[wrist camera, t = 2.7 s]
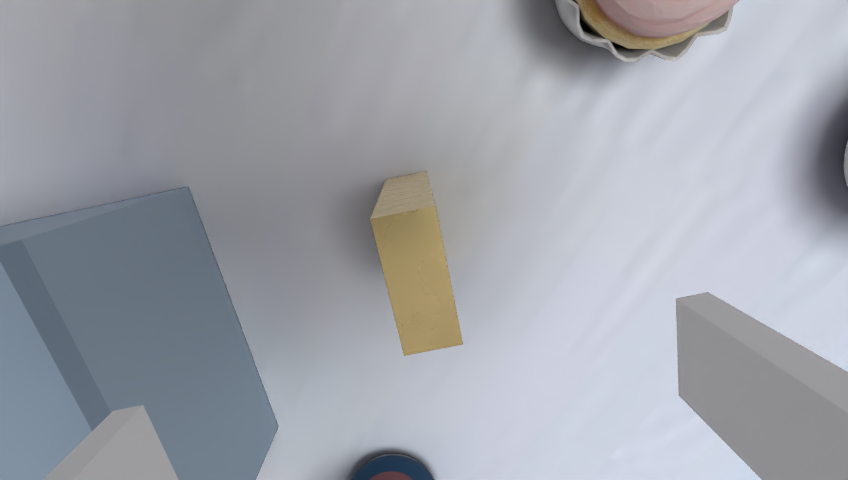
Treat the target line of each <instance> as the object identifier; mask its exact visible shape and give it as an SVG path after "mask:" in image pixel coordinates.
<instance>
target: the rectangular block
mask: <svg viewBox="0 0 848 480" xmlns="http://www.w3.org/2000/svg"><path fill="white" fill-rule="evenodd" d="M370 221H371V225H372V229H373V233H374V237H375V241H376V245H377V249H378V253H379V257H380V261H381V265H382V269H383V273H384V277H385V281H386V285H387V289H388V293H389V297H390V301H391V305H392V309H393V313H394V317H395V321H396V325H397V329H398V333H399V337H400V341H401V345H402V349H403V353H404V356H405V355H411V354H416V353H421V352H426V351H431V350H436V349H441V348H447V347H452V346H457V345H462V344H463V342H462V337H461V332H460V327H459V322H458V317H457V312H456V307H455V302H454V297H453V291H452V286H451V281H450V276H449V271H448V266H447V261H446V256H445V251H444V246H443V241H442V236H441V231H440V226H439V221H438V216H437V211H436V206H435V202H434V198H433V195H432V191H431V187H430V183H429V180H428V176H427V172H426V171H424V172H420V173H415V174H410V175H405V176H400V177H396V178H391V179H386V181H385V183H384V186H383V188H382V191H381V193H380V196H379V198H378V201H377V203H376V206H375V208H374V211H373V213H372V216H371V218H370Z"/></svg>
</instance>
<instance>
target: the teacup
mask: <svg viewBox="0 0 848 480" xmlns="http://www.w3.org/2000/svg"><path fill="white" fill-rule="evenodd" d="M844 176H845V180H846V184H847V187H848V141H847V145H846V149H845V155H844Z"/></svg>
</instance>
